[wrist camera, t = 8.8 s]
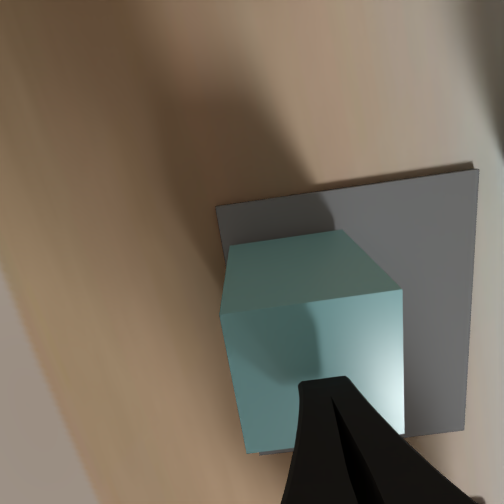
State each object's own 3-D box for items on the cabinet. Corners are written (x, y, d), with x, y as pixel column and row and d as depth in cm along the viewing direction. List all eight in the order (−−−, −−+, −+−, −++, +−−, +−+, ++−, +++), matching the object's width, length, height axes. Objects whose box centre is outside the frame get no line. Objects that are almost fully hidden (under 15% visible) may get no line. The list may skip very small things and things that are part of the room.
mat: (461, 426, 21) (464, 430, 21) (259, 451, 21) (259, 455, 21) (475, 168, 16) (479, 169, 16) (216, 206, 17) (215, 207, 16)
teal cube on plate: (348, 328, 18) (404, 433, 12) (246, 342, 18) (246, 453, 12) (342, 229, 16) (402, 289, 10) (229, 245, 16) (219, 314, 10)
